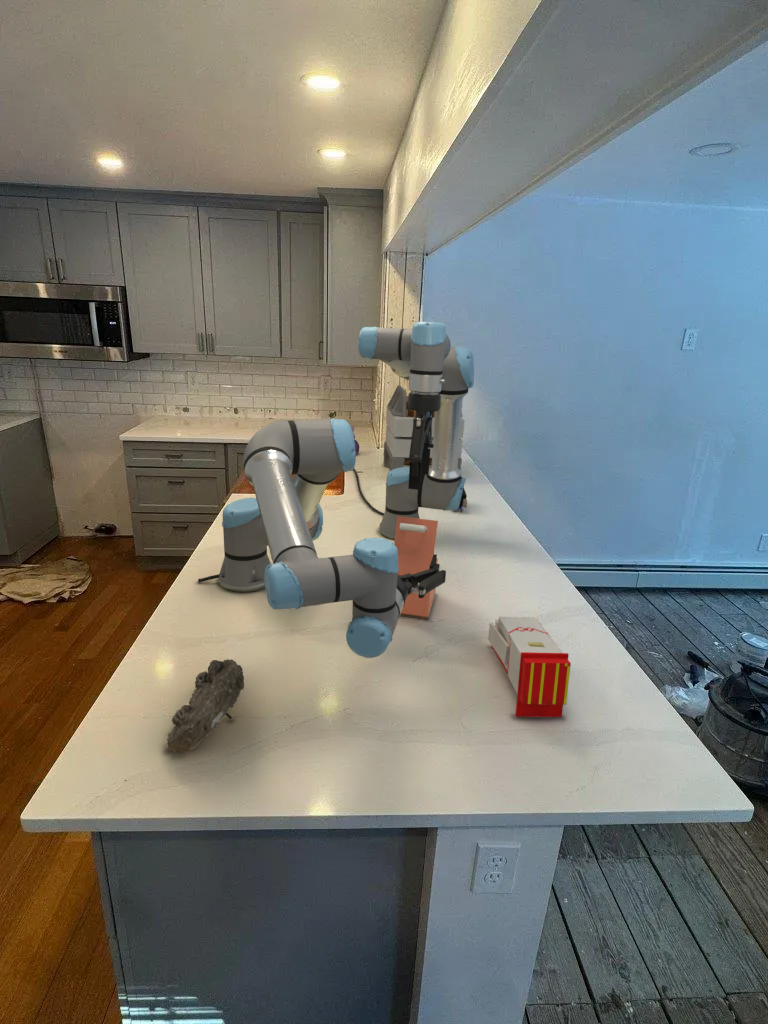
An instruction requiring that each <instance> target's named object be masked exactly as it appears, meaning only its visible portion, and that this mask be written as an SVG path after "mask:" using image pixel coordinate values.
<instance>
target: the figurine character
mask: <svg viewBox="0 0 768 1024" xmlns="http://www.w3.org/2000/svg"><path fill="white" fill-rule="evenodd" d="M467 495H468V494H467V493H466V490H465V487H464V488H463V492H462V496H461V501H460V504H459V508H458V509H459V510H460V512H463V509H464V508H465V509H466V508H467V506H468V499H467V497H468V496H467ZM458 509H457V510H458Z"/></svg>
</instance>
